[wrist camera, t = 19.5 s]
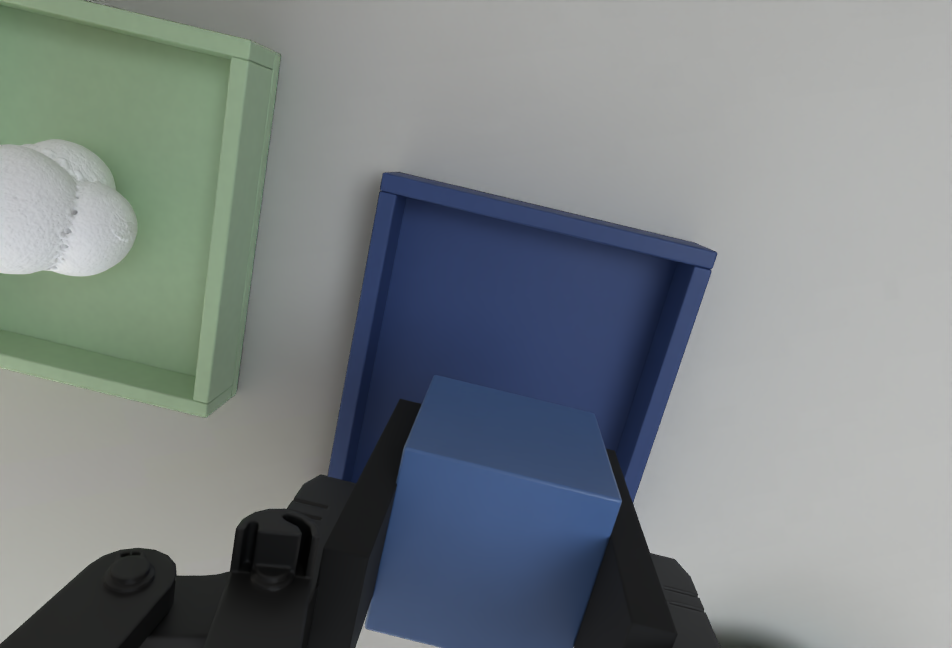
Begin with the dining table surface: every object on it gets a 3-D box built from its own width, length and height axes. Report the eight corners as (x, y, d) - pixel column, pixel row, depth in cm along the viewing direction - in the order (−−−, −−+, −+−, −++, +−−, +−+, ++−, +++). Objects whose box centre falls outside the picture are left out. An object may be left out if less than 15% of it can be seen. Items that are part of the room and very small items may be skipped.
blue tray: (397, 171, 22) (382, 172, 20) (696, 243, 22) (718, 252, 19) (338, 485, 25) (319, 518, 23) (596, 548, 25) (604, 588, 23)
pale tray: (-25, -19, 21) (-94, -42, 19) (281, 54, 21) (251, 40, 19) (-27, 330, 25) (-86, 347, 22) (236, 394, 25) (205, 418, 22)
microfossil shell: (34, 131, 22) (-119, 120, 17) (176, 153, 22) (65, 149, 17) (39, 252, 23) (-103, 277, 18) (173, 274, 23) (70, 306, 18)
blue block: (434, 373, 16) (403, 447, 12) (595, 412, 16) (623, 500, 12) (401, 515, 17) (363, 629, 13) (552, 552, 17) (563, 679, 13)
